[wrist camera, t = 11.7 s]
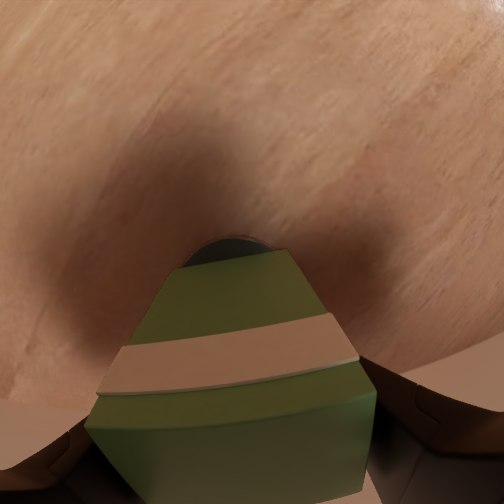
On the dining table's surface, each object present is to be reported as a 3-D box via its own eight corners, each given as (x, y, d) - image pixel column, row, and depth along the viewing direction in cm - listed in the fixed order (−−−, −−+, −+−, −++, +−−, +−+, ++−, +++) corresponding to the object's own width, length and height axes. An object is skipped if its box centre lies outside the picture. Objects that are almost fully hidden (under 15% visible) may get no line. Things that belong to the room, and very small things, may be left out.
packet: (324, 455, 12) (399, 523, 3) (211, 472, 11) (107, 546, 3) (286, 274, 16) (287, 122, 8) (187, 292, 16) (103, 163, 8)
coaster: (308, 322, 16) (311, 327, 15) (205, 356, 16) (204, 362, 15) (273, 216, 14) (274, 218, 14) (157, 260, 14) (154, 263, 14)
